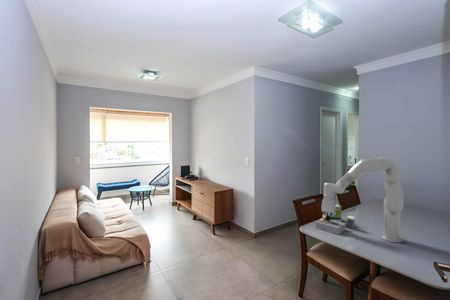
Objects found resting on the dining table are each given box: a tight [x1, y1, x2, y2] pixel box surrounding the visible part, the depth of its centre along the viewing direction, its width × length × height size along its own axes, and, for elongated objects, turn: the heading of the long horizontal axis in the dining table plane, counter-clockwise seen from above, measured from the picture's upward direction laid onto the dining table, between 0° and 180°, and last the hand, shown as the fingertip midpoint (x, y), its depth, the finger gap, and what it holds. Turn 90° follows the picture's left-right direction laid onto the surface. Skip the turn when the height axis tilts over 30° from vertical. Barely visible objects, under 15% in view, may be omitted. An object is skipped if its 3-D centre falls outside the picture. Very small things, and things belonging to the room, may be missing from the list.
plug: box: [346, 215, 356, 230], centre depth 181 cm, size 5×5×9 cm
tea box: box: [322, 202, 342, 222], centre depth 199 cm, size 15×10×15 cm
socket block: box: [315, 219, 347, 235], centre depth 180 cm, size 18×14×5 cm
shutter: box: [318, 216, 331, 223], centre depth 183 cm, size 7×7×3 cm
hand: (328, 220), depth 181 cm, fingers closed
